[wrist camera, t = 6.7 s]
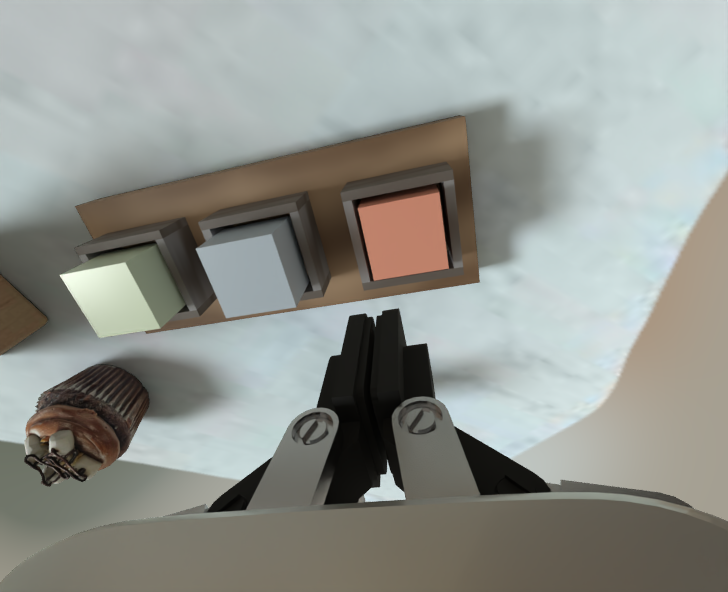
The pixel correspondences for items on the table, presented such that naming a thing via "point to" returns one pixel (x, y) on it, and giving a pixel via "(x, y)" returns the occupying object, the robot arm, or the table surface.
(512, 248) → the table surface
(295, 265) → the slate key
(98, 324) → the sage key
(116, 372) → the cupcake
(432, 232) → the red key
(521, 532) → the robot arm
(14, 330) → the wooden block
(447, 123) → the console
